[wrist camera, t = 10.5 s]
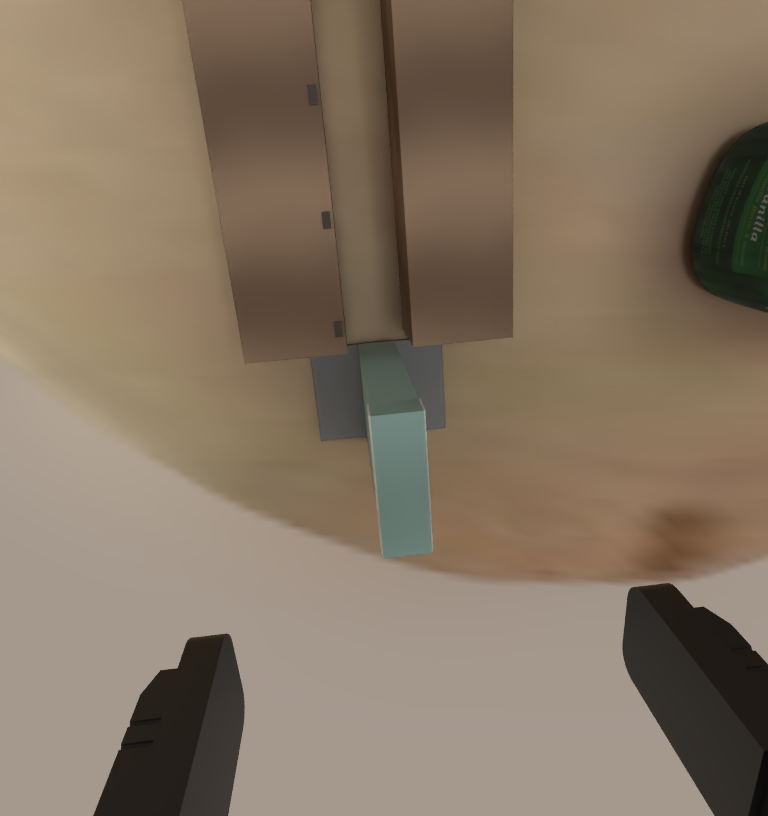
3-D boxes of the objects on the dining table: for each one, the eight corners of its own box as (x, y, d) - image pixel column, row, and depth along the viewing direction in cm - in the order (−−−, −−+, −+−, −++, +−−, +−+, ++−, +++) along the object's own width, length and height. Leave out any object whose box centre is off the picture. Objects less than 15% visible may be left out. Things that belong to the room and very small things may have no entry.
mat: (309, 348, 25) (309, 349, 25) (440, 335, 26) (441, 336, 25) (321, 439, 27) (321, 441, 27) (444, 426, 27) (445, 427, 27)
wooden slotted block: (171, -182, 19) (135, -266, 15) (482, -197, 19) (514, -282, 16) (256, 342, 25) (244, 364, 22) (489, 320, 26) (513, 337, 22)
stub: (357, 344, 25) (368, 416, 16) (394, 340, 25) (425, 410, 17) (367, 446, 27) (382, 558, 18) (402, 442, 27) (434, 552, 18)
